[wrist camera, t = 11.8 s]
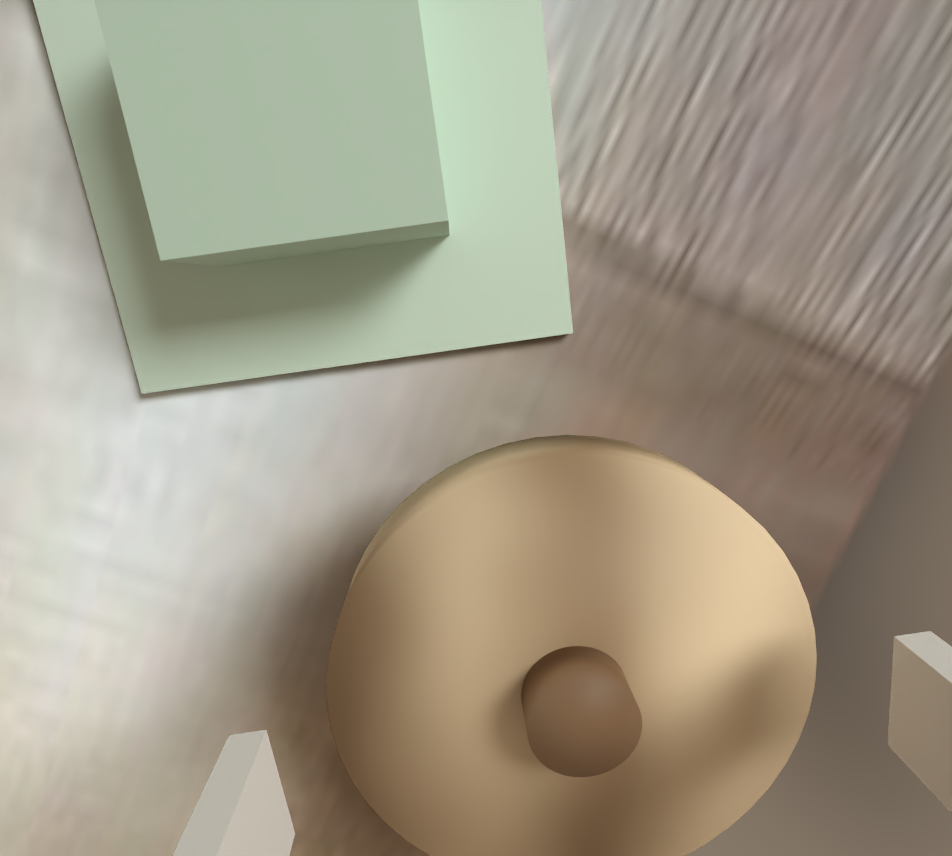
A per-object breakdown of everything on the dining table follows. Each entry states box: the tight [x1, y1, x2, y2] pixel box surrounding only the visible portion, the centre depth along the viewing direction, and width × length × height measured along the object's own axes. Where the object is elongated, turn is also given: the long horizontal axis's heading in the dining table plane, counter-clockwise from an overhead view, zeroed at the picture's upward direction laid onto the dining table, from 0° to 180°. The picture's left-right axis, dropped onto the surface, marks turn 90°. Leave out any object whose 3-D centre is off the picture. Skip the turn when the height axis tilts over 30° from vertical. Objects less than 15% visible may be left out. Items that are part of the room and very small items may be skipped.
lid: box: [327, 435, 817, 856], centre depth 15 cm, size 12×12×3 cm
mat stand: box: [33, 0, 573, 394], centre depth 15 cm, size 14×14×4 cm
